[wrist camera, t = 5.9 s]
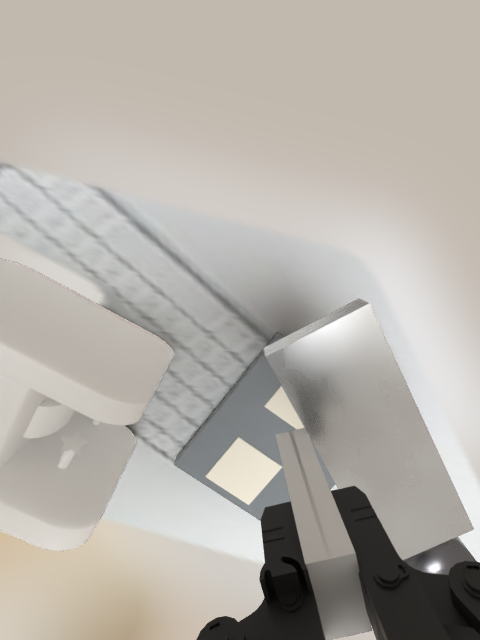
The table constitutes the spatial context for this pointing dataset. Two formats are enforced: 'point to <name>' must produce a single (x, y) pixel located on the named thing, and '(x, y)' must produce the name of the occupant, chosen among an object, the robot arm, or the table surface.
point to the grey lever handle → (373, 432)
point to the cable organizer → (66, 406)
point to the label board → (246, 442)
